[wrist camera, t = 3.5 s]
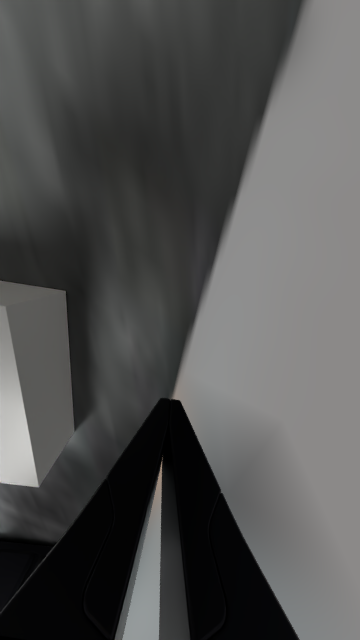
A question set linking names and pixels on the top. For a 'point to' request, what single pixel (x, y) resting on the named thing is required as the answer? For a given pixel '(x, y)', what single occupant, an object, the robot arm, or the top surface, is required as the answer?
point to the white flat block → (33, 382)
